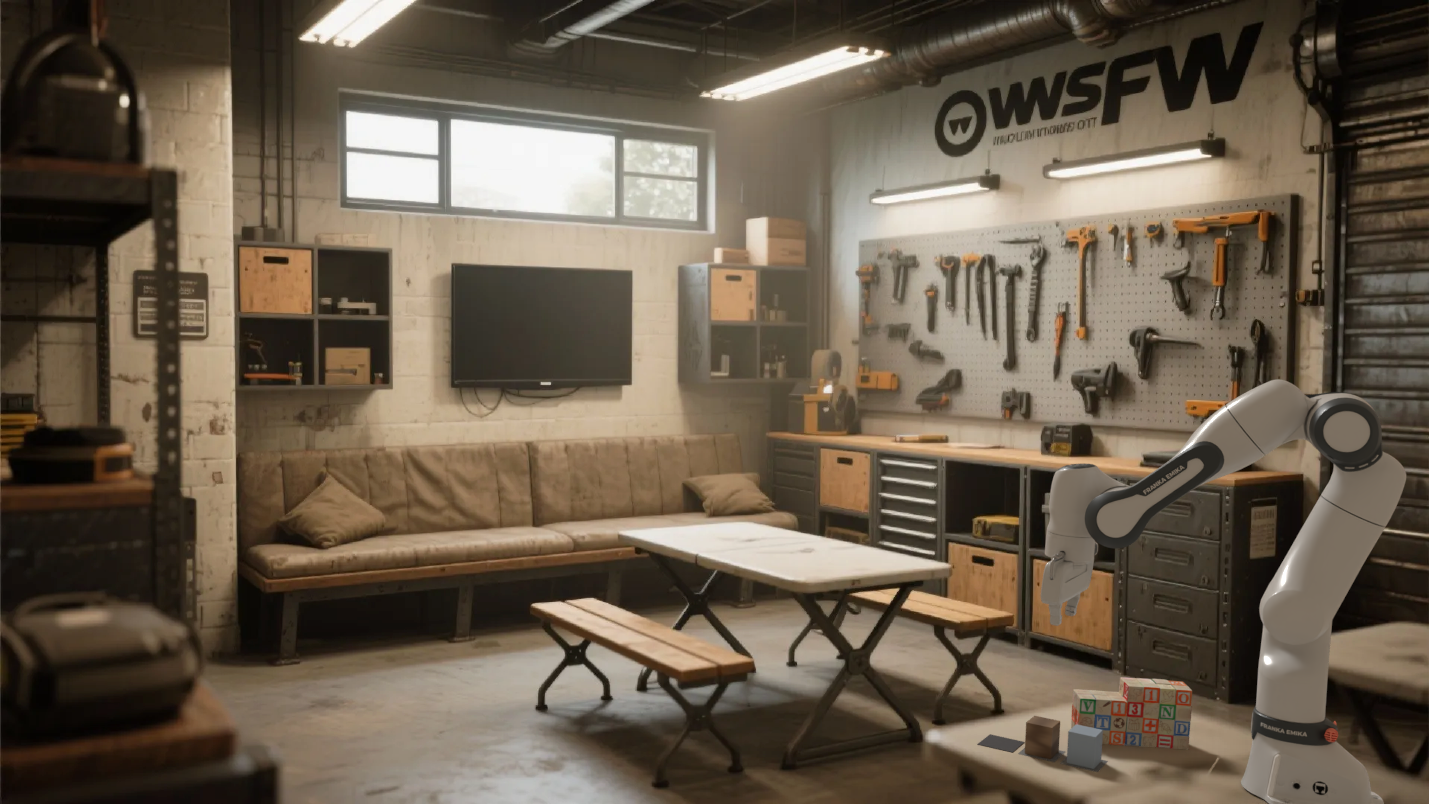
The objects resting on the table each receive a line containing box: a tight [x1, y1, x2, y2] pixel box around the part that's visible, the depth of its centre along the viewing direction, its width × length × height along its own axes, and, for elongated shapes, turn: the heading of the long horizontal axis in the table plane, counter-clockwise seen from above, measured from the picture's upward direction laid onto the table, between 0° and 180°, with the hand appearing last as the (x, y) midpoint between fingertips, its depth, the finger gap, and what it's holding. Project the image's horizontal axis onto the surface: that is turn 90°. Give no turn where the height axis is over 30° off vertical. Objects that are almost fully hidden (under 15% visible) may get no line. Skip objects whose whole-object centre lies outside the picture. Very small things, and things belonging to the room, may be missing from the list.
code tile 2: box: [1059, 756, 1108, 773], centre depth 220 cm, size 7×7×1 cm
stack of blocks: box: [1070, 676, 1193, 750], centre depth 232 cm, size 21×6×12 cm, turn 85°
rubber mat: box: [976, 734, 1025, 754], centre depth 229 cm, size 7×7×1 cm
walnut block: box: [1024, 715, 1061, 759], centre depth 224 cm, size 5×5×6 cm
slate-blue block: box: [1066, 724, 1103, 769], centre depth 220 cm, size 5×5×6 cm
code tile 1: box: [1017, 747, 1066, 763], centre depth 224 cm, size 7×7×1 cm
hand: (1063, 619), depth 223 cm, fingers open, 8 cm apart
